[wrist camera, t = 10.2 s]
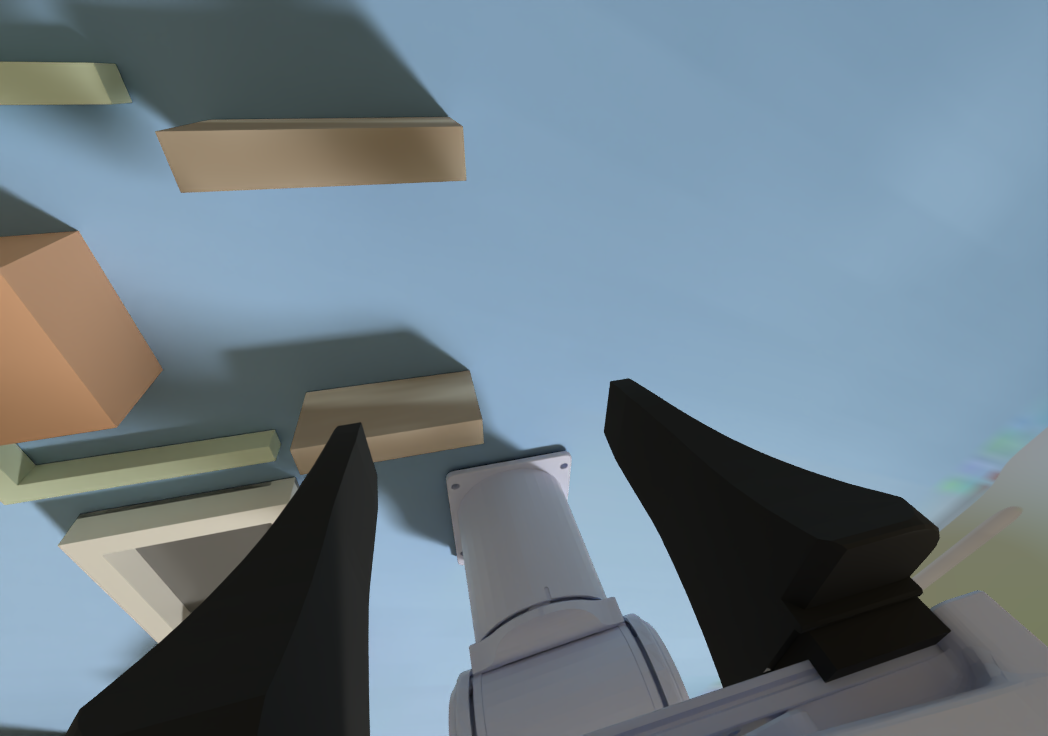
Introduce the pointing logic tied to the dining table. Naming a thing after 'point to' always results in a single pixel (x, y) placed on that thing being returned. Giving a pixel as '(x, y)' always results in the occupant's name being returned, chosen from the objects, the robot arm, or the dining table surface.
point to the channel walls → (342, 160)
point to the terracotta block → (64, 342)
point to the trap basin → (173, 548)
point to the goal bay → (21, 480)
